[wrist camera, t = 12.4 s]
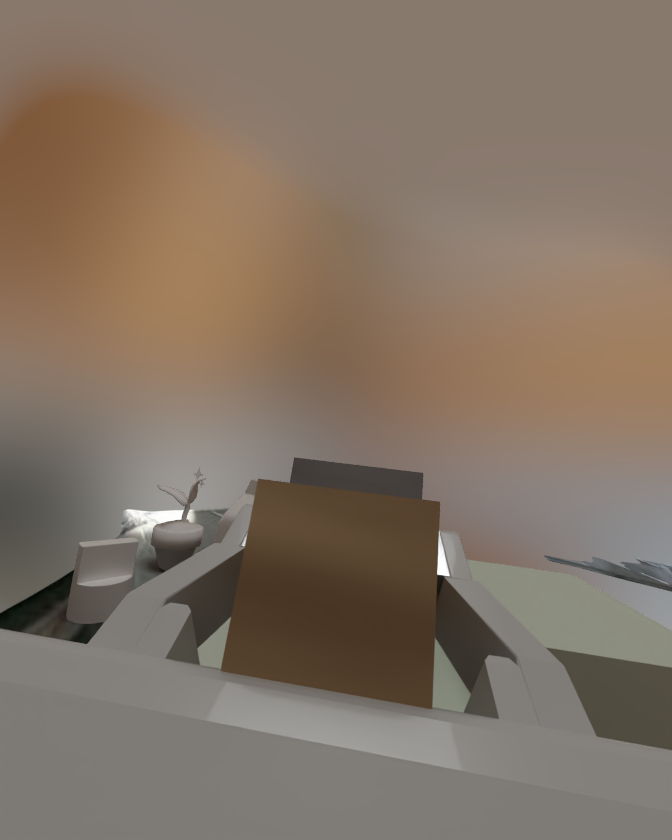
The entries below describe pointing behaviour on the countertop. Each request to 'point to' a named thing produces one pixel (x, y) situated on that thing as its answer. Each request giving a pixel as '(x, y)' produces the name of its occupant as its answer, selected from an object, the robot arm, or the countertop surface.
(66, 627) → the countertop surface
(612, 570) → the countertop surface
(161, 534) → the potted plant
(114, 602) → the cylinder with rectangular tab
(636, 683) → the block
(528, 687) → the robot arm
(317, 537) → the mallet
